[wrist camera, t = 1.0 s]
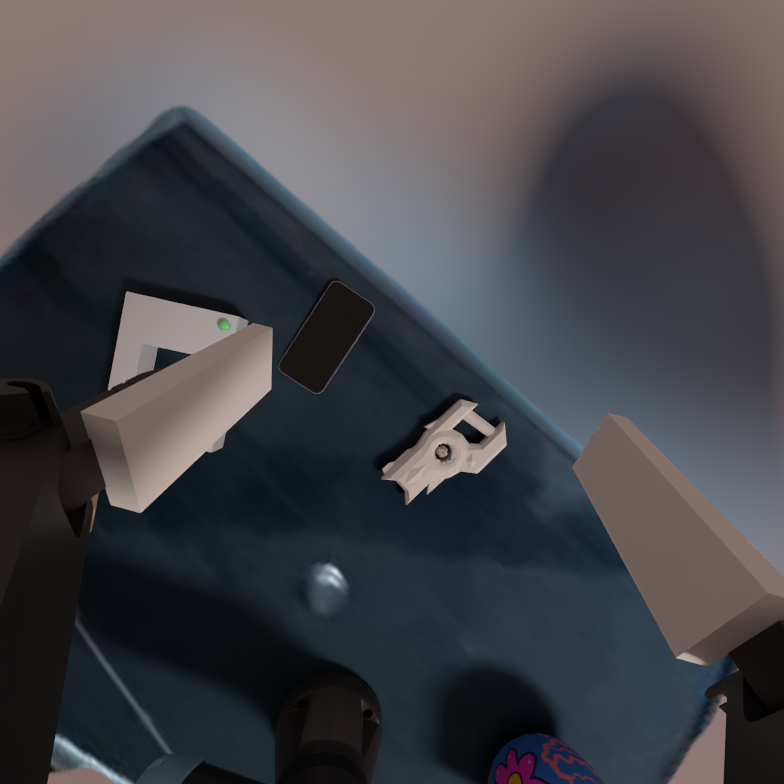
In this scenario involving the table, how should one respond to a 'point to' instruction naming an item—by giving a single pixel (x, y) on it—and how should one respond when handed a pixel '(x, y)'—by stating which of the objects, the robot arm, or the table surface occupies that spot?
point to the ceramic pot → (540, 763)
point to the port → (165, 335)
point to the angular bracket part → (445, 451)
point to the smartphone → (326, 337)
